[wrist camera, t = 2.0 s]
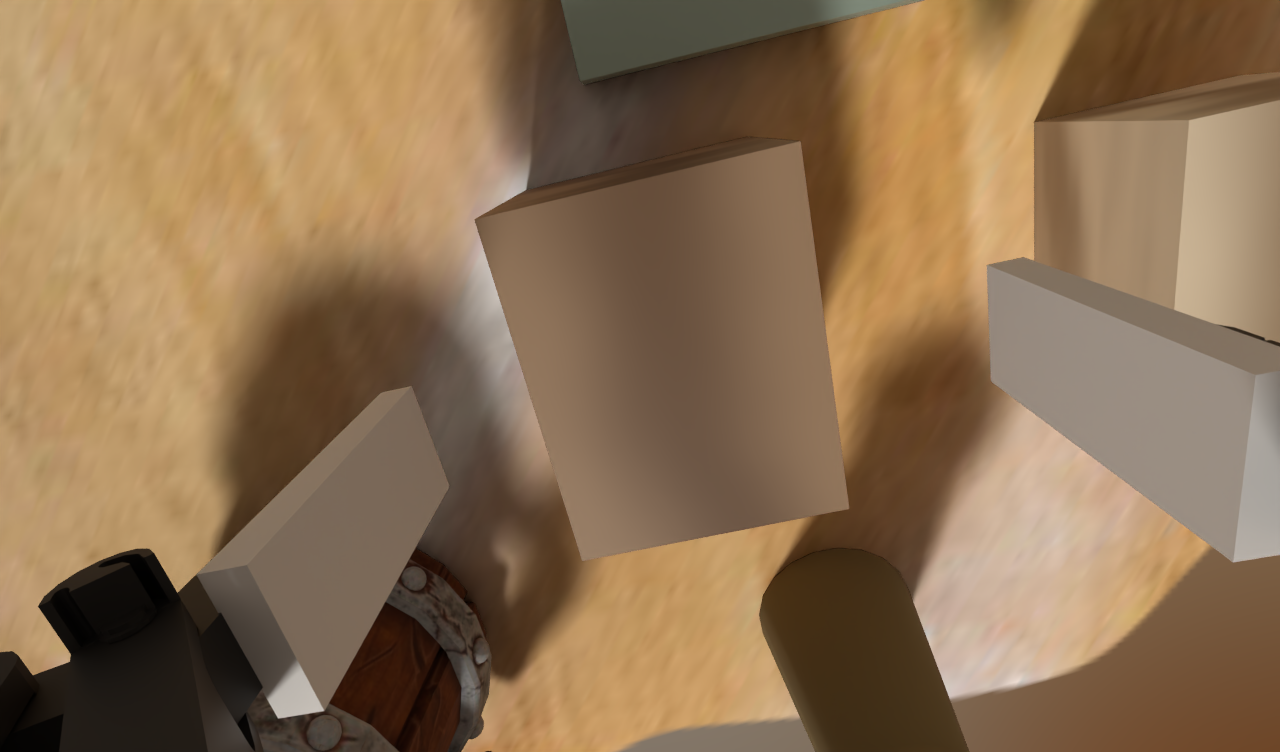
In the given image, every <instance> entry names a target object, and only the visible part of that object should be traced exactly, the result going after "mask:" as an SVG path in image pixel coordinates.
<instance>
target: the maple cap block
mask: <svg viewBox="0 0 1280 752" xmlns="http://www.w3.org/2000/svg"><path fill="white" fill-rule="evenodd" d="M1034 261H1036V262H1039V263H1041V264H1044V265H1047V266H1050V267H1053V268H1056V269H1059V270H1062V271H1064V272H1067V273H1070V274H1073V275H1076V276H1079V277H1082V278H1084V279H1087V280H1090V281H1093V282H1096V283H1099V284H1102V285H1104V286H1107V287H1110V288H1113V289H1116V290H1119V291H1122V292H1125V293H1127V294H1130V295H1133V296H1136V297H1139V298H1142V299H1145V300H1147V301H1150V302H1153V303H1156V304H1159V305H1162V306H1165V307H1168V308H1170V309H1173V310H1176V311H1179V312H1182V313H1185V314H1188V315H1190V316H1193V317H1196V318H1199V319H1202V320H1205V321H1208V322H1210V323H1213V324H1217V325H1223V326H1230V327H1235V328H1238V329H1241V330H1244V331H1247V332H1250V333H1253V334H1255V335H1258V336H1261V337H1264V338H1265V340H1266V341H1267V340H1273V341H1276V342H1279V343H1280V72H1272V73H1260V74H1249V75H1240V76H1235V77H1231V78H1226V79H1222V80H1217V81H1213V82H1209V83H1204V84H1200V85H1195V86H1191V87H1187V88H1182V89H1178V90H1173V91H1169V92H1165V93H1160V94H1156V95H1151V96H1147V97H1142V98H1138V99H1134V100H1129V101H1125V102H1120V103H1116V104H1112V105H1107V106H1103V107H1098V108H1094V109H1089V110H1085V111H1081V112H1076V113H1072V114H1067V115H1063V116H1059V117H1054V118H1050V119H1045V120H1041V121H1037V122H1034Z"/></svg>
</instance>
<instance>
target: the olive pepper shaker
mask: <svg viewBox="0 0 1280 752" xmlns="http://www.w3.org/2000/svg"><path fill="white" fill-rule="evenodd" d="M759 616H760V621H761V626H762V631H763V634H764V637H765V639H766V641H767V643H768V646H769V648H770V650H771V652H772V655H773V657H774V659H775V662H776V664H777V666H778V668H779V671H780V673H781V675H782V677H783V680H784V682H785V684H786V686H787V689H788V691H789V693H790V695H791V698H792V700H793V702H794V705H795V707H796V709H797V711H798V714H799V716H800V718H801V720H802V723H803V725H804V727H805V729H806V732H807V734H808V736H809V738H810V741H811V743H812V745H813V747H814V750H815V752H969V749H968V747H967V744H966V741H965V739H964V736H963V734H962V731H961V728H960V725H959V723H958V720H957V717H956V715H955V712H954V709H953V707H952V704H951V701H950V699H949V696H948V693H947V691H946V688H945V685H944V683H943V680H942V678H941V675H940V672H939V670H938V667H937V664H936V662H935V659H934V656H933V654H932V651H931V648H930V646H929V643H928V640H927V638H926V635H925V632H924V630H923V627H922V624H921V622H920V619H919V616H918V614H917V611H916V608H915V606H914V603H913V600H912V598H911V595H910V592H909V590H908V587H907V585H906V584H905V582H904V580H903V578H902V576H901V574H900V573H899V571H898V570H897V569H896V568H894V567H893V566H892V565H891V564H890V563H888V562H887V561H886V560H885V559H883V558H882V557H879V556H876V555H874V554H871V553H868V552H866V551H863V550H856V549H843V548H835V549H830V550H825V551H819V552H814V553H811V554H809V555H807V556H805V557H803V558H801V559H799V560H797V561H795V562H792V563H791V564H790V565H788V566H787V567H786V568H785V569H784V570H783V571H782V572H780V573H779V574H778V575H777V576H776V577H775V578H774V579H773V580H772V582H771V584H770V585H769V587H768V589H767V590H766V592H765V594H764V595H763V599H762V604H761V609H760V614H759Z"/></svg>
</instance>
